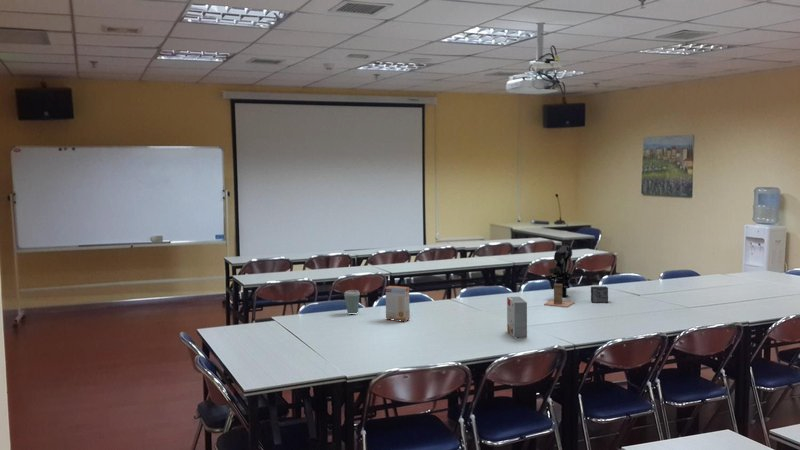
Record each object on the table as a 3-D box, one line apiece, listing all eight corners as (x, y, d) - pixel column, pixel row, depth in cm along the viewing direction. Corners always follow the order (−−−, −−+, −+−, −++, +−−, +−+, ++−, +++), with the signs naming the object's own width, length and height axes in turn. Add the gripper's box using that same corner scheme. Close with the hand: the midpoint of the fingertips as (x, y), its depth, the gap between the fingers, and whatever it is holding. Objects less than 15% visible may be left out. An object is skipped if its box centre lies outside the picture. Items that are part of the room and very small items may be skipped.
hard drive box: (506, 331, 369) (506, 296, 368) (519, 330, 370) (519, 296, 368) (513, 338, 354) (513, 302, 352) (527, 337, 355) (527, 301, 353)
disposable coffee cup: (358, 316, 413) (357, 293, 412) (342, 315, 415) (341, 292, 414) (362, 312, 423) (362, 289, 422) (346, 312, 426) (346, 289, 424)
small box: (606, 301, 446) (606, 286, 445) (608, 303, 440) (608, 287, 439) (590, 301, 447) (590, 286, 447) (592, 303, 441) (592, 287, 440)
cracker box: (410, 320, 400) (409, 286, 398) (405, 322, 394) (404, 288, 393) (390, 318, 407) (390, 285, 405) (385, 320, 402) (385, 286, 400)
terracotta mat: (551, 300, 450) (551, 299, 450) (574, 303, 441) (574, 301, 441) (544, 305, 436) (544, 303, 436) (567, 307, 428) (567, 306, 428)
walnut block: (554, 302, 439) (554, 283, 438) (562, 302, 438) (562, 283, 436) (553, 304, 435) (553, 284, 433) (561, 304, 433) (561, 285, 432)
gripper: (541, 265, 454) (539, 286, 448) (563, 260, 440) (560, 282, 434) (552, 270, 460) (549, 291, 454) (573, 266, 445) (571, 287, 439)
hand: (557, 288), depth 445 cm, fingers open, 9 cm apart
